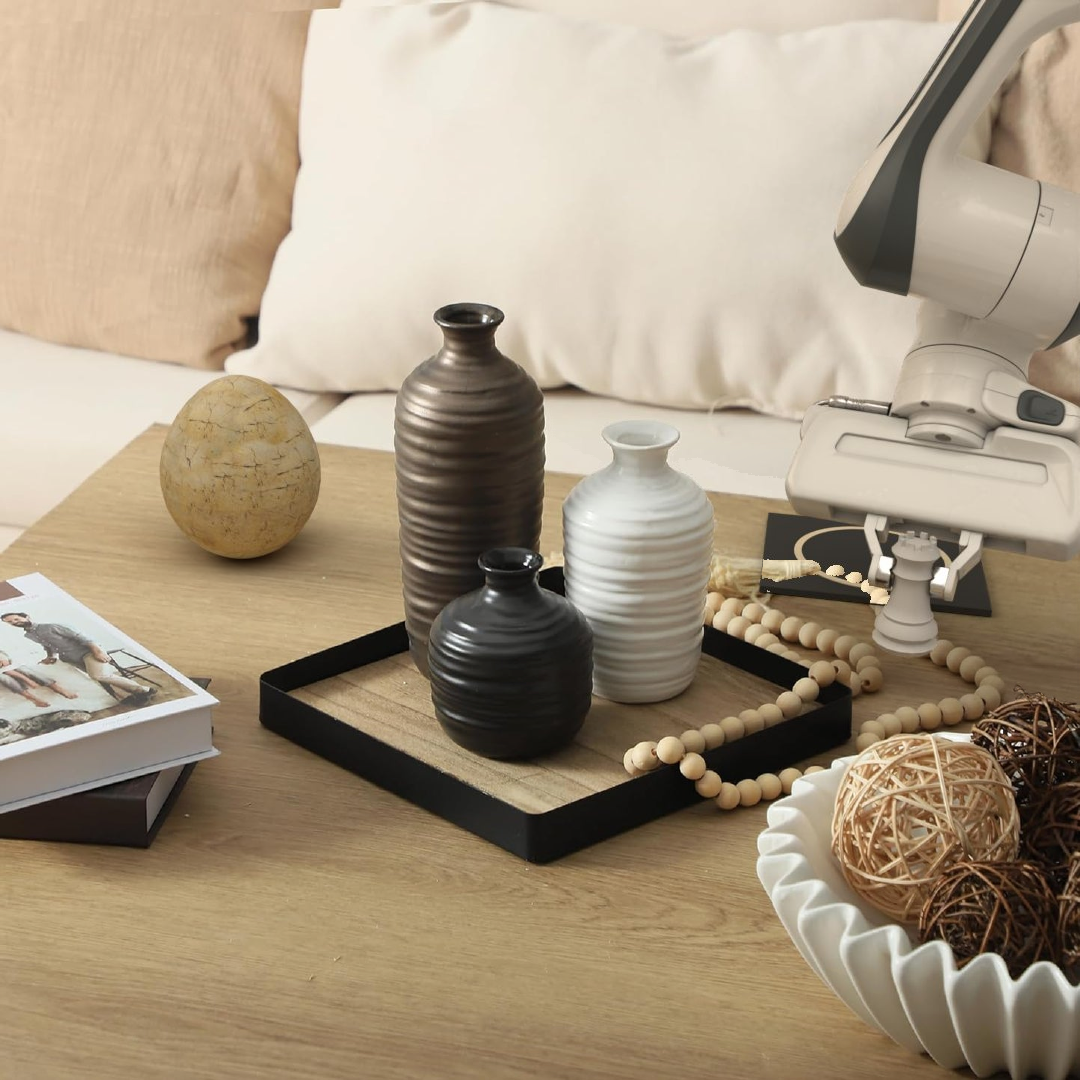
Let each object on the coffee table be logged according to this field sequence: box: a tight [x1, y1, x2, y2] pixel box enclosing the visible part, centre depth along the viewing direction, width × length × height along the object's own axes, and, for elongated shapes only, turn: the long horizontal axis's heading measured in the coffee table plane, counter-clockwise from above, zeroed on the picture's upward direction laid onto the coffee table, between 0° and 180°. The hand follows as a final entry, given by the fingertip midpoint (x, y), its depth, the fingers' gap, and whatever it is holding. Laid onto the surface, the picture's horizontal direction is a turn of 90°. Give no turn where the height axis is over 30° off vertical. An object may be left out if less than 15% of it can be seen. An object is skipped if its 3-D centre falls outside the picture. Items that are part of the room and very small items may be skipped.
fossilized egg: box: [159, 374, 322, 560], centre depth 118 cm, size 13×13×15 cm
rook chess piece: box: [871, 531, 941, 658], centre depth 100 cm, size 4×4×8 cm
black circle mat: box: [758, 512, 993, 618], centre depth 123 cm, size 18×16×1 cm
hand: (909, 590), depth 100 cm, fingers closed on rook chess piece, 3 cm apart
